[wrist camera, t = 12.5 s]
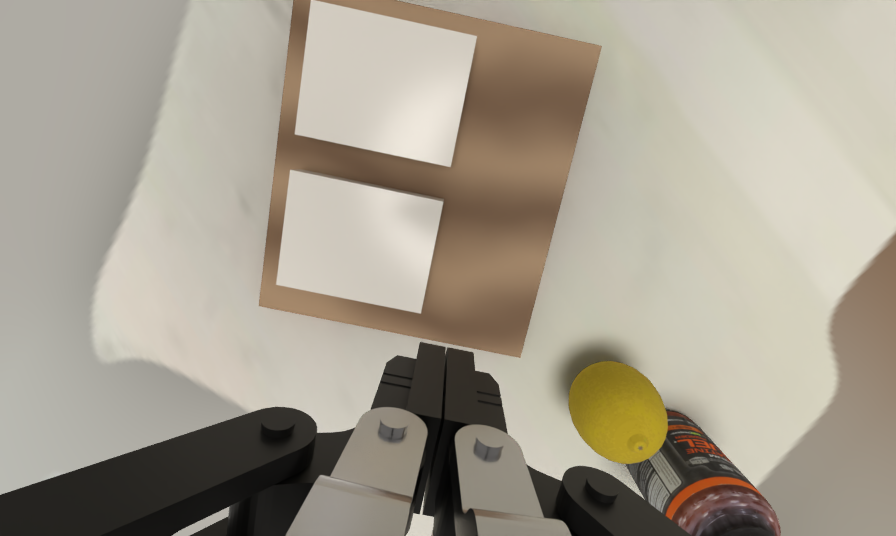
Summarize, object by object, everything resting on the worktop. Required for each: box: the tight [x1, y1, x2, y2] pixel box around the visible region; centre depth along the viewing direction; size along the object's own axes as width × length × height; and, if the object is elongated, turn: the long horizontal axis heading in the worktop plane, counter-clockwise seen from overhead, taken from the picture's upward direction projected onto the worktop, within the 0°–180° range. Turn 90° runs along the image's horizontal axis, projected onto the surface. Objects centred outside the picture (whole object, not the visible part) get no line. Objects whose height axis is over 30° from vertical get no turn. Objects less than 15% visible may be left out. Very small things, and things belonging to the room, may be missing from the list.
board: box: [259, 0, 602, 358], centre depth 29 cm, size 20×18×1 cm
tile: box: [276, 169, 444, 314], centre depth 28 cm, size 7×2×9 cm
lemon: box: [569, 361, 668, 464], centre depth 28 cm, size 6×6×8 cm
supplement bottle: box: [626, 411, 781, 536], centre depth 28 cm, size 6×6×11 cm
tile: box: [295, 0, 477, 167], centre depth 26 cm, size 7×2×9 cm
